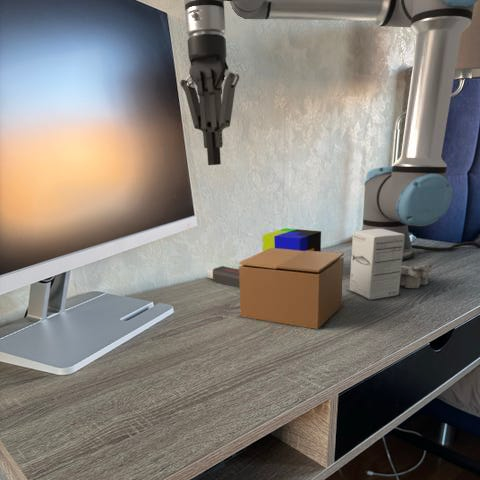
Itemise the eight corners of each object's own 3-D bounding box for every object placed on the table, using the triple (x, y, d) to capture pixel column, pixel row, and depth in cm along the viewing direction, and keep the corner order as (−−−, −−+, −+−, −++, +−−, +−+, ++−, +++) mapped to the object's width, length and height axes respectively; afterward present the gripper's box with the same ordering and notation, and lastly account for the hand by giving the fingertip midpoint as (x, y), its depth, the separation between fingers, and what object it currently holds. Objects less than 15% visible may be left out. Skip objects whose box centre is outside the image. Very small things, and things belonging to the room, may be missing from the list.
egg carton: (432, 283, 97) (434, 265, 95) (412, 290, 93) (414, 271, 91) (390, 274, 105) (392, 257, 103) (370, 280, 101) (371, 262, 99)
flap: (239, 264, 79) (239, 262, 79) (270, 249, 89) (270, 247, 89) (276, 269, 75) (276, 266, 75) (305, 253, 86) (305, 251, 86)
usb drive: (242, 288, 99) (241, 276, 98) (205, 279, 107) (204, 268, 106) (257, 282, 103) (256, 271, 102) (220, 274, 110) (219, 263, 109)
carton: (240, 316, 82) (238, 262, 79) (271, 296, 93) (270, 247, 89) (317, 329, 75) (319, 270, 71) (341, 305, 86) (343, 253, 82)
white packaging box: (348, 290, 94) (351, 230, 90) (377, 285, 97) (382, 227, 92) (369, 300, 88) (373, 236, 83) (400, 295, 90) (406, 233, 86)
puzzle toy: (299, 282, 102) (299, 238, 98) (263, 276, 107) (262, 234, 104) (320, 272, 109) (321, 231, 105) (285, 267, 115) (285, 228, 111)
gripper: (168, 38, 87) (179, 166, 95) (224, 27, 81) (231, 164, 89) (190, 45, 93) (199, 164, 101) (244, 34, 87) (249, 163, 95)
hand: (214, 164), depth 95 cm, fingers closed
